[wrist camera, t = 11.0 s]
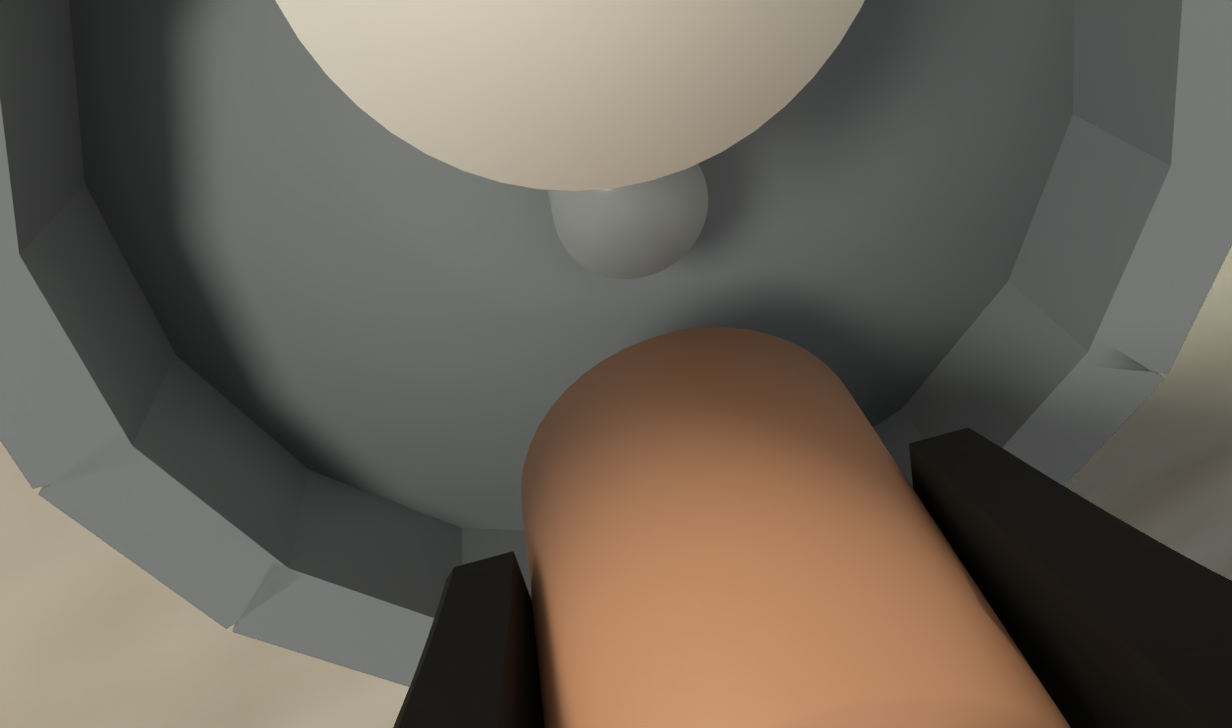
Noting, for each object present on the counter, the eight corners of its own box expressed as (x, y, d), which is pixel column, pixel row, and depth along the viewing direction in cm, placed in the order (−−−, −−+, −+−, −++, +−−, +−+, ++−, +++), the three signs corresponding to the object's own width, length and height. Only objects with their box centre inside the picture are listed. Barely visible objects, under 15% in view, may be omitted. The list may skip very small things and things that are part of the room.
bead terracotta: (934, 428, 12) (1219, 806, 7) (723, 654, 13) (859, 1085, 9) (660, 261, 10) (820, 617, 6) (452, 536, 11) (455, 991, 7)
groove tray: (1351, -75, 13) (1561, -42, 10) (726, 661, 18) (768, 799, 15) (296, -1123, 8) (223, -1550, 5) (-169, 331, 13) (-316, 462, 10)
